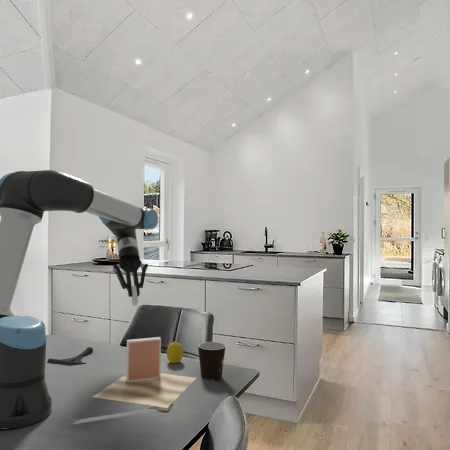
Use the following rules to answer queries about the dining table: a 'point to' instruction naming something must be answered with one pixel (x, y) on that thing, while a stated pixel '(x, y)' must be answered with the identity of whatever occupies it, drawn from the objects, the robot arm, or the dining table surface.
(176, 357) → the lemon
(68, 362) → the dark grey forked piece
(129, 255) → the robot arm
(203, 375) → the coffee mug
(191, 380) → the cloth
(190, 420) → the dining table surface
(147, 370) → the tile
